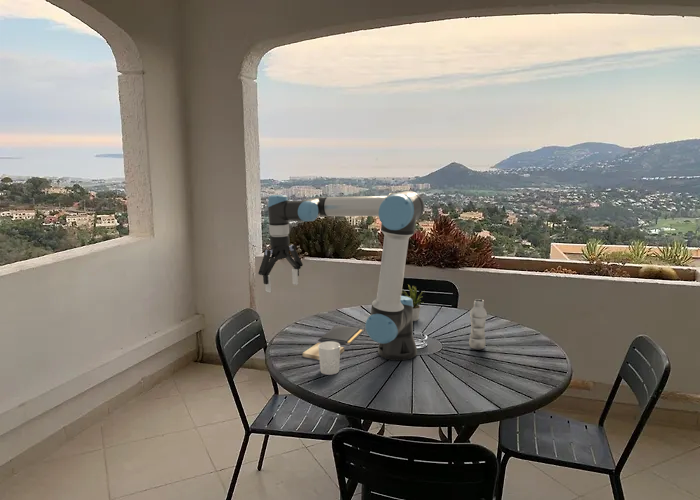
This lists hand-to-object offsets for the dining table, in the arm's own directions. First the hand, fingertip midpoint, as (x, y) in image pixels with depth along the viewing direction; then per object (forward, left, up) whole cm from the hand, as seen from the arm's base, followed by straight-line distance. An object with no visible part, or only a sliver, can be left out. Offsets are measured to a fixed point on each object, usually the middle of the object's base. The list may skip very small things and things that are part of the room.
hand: (282, 288), depth 211 cm
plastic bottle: (-70, -34, -26) cm, 82 cm away
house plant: (-33, -57, -26) cm, 70 cm away
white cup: (-27, +10, -26) cm, 38 cm away
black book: (-14, -24, -26) cm, 38 cm away
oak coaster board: (-17, -3, -26) cm, 31 cm away
